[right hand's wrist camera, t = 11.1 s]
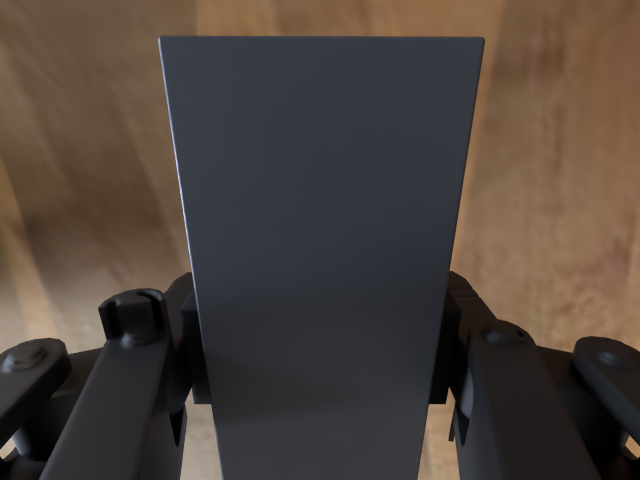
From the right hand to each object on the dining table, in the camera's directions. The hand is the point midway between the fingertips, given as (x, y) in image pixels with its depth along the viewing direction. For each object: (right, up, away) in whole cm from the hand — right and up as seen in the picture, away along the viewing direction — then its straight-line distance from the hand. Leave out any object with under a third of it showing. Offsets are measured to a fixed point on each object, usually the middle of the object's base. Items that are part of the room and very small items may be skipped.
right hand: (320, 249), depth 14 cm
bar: (0, -25, +11) cm, 28 cm away
